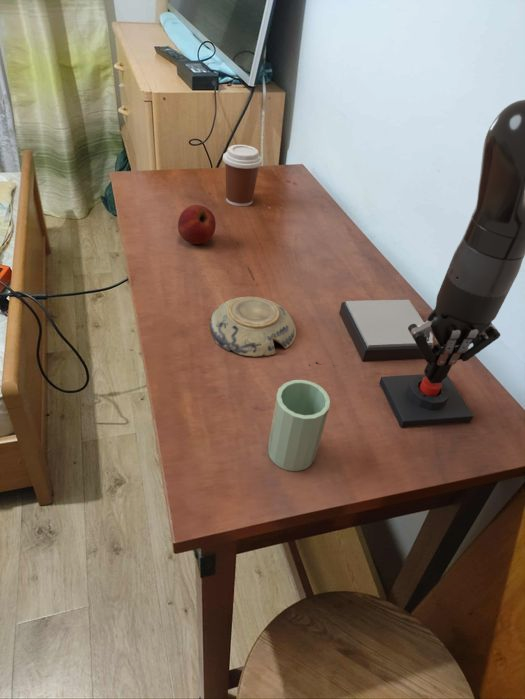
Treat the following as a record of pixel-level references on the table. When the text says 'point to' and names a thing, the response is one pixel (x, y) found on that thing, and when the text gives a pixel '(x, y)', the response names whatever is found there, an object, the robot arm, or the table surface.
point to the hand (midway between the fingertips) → (433, 379)
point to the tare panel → (424, 402)
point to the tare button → (430, 387)
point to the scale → (382, 329)
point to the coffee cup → (241, 174)
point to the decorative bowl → (252, 326)
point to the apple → (196, 224)
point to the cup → (297, 424)
